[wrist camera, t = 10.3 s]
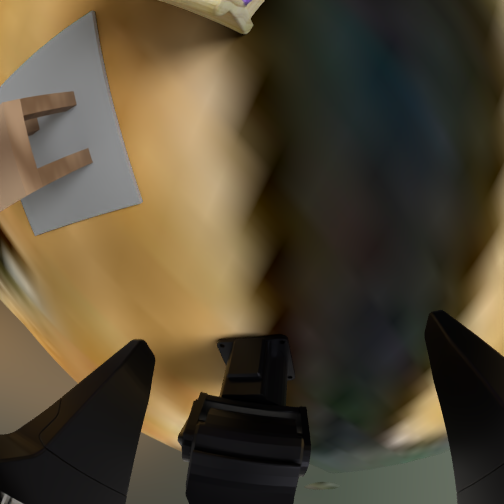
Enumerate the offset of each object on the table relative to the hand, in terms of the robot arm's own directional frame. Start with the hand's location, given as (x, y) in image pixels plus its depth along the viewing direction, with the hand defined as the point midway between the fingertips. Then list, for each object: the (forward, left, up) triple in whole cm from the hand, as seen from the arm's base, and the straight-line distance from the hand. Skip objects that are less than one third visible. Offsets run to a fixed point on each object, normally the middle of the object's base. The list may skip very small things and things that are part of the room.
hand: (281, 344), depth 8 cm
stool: (+9, +16, -12) cm, 22 cm away
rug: (+10, +17, -12) cm, 23 cm away
